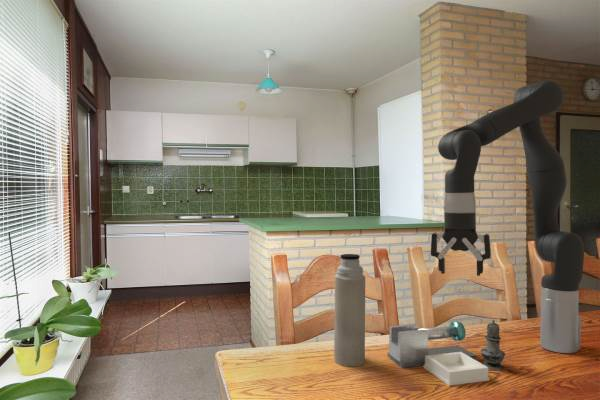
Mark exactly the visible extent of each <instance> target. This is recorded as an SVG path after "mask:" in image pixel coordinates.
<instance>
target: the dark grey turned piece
mask: <svg viewBox="0 0 600 400" xmlns="http://www.w3.org/2000/svg"><path fill="white" fill-rule="evenodd" d="M486 327H487V330H486V335H485V339H486V344H485V347H484V348H482V349H480V353H481V356H482V359H483V360H484V361H483V362H482V363H481V364H483V365H485V366H486V367H488V370H491V371H503V370H504V369H505V367H504V365H503V364H502V362H503V361H504V359H505V356H506V352H505V351H503V350H501V347H500V343H501V342H500V341H501V339H502V338H501V337H500V325H499V324H497V323H496V322H495V320H494V319H492V320H491V322H489V323H488V324H487V326H486Z"/></svg>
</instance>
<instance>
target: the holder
mask: <svg viewBox="0 0 600 400" xmlns="http://www.w3.org/2000/svg"><path fill="white" fill-rule="evenodd" d="M423 368H424V369H425V370H427V372H429V373H431V375H434V377H436V378H438V379H439V380H440V381H442V382H443V383H445V385H447V386H449V387H451V386H458V385H463V384H471V383H472V384H473V383H480V382H481V383H482V382H486V381H487V382H488V381H491V380H490V379H491V378H490V377H489V369H488V367H486V366H485V365H483V364H482V363H481V362H479V361H478V360H477V359H473V358H471V357H469V356H467V355H466V354H464V353H462V352H454V353H445V354H436V355H427V356H425V365H423Z"/></svg>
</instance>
